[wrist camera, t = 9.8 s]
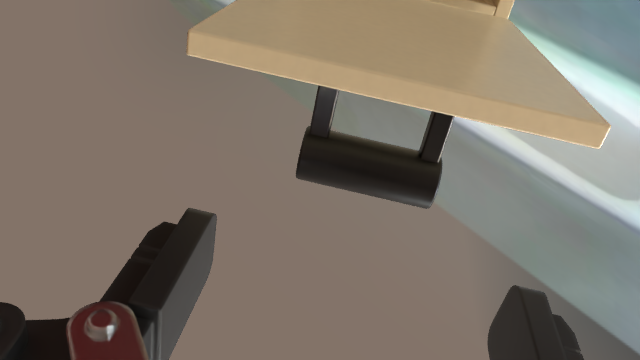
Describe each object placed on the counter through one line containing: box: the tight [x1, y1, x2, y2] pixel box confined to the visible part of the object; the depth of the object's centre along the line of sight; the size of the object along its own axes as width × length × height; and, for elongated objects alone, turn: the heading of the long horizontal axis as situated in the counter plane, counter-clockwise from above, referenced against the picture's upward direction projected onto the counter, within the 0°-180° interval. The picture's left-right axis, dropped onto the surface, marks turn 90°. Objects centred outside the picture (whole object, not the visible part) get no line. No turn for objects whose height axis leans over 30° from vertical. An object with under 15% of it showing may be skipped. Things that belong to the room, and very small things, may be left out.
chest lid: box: [186, 0, 611, 209], centre depth 23 cm, size 15×13×5 cm
